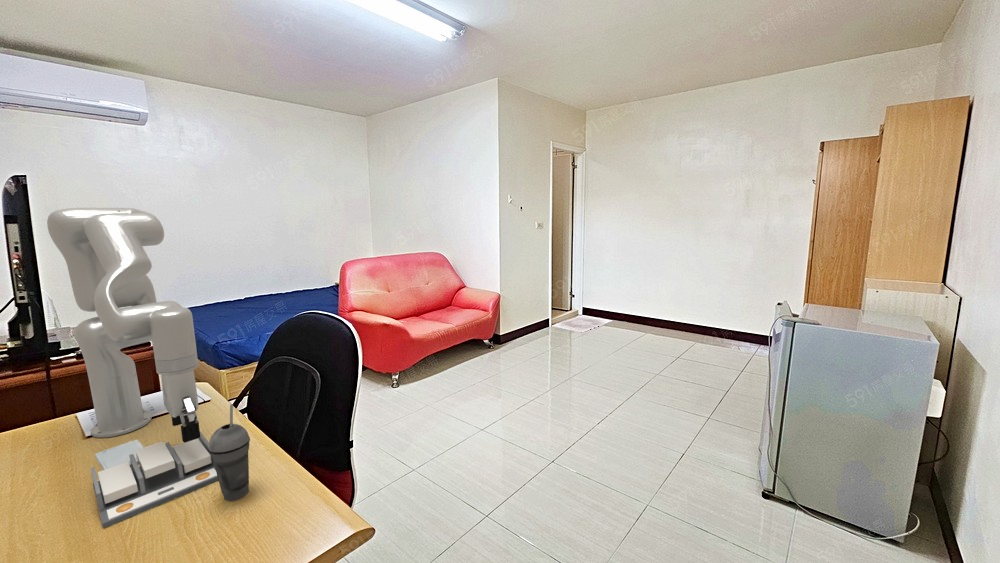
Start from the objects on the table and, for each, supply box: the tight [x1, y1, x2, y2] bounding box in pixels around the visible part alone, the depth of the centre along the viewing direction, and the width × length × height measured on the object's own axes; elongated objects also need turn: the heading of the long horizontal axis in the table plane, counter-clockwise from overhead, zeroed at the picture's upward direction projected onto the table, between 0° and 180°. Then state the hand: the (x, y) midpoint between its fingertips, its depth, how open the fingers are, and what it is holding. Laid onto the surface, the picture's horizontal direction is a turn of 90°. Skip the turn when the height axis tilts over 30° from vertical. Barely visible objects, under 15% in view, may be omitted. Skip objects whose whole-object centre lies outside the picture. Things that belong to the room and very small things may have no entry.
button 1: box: [97, 462, 138, 504], centre depth 88 cm, size 11×5×3 cm, turn 48°
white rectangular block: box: [135, 441, 175, 478], centre depth 93 cm, size 11×5×3 cm, turn 48°
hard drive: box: [94, 439, 145, 470], centre depth 101 cm, size 2×8×12 cm
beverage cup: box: [209, 403, 251, 502], centre depth 86 cm, size 7×7×20 cm
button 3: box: [172, 439, 212, 473], centre depth 98 cm, size 11×5×3 cm, turn 48°
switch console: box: [90, 431, 219, 529], centre depth 92 cm, size 18×20×5 cm
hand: (186, 431), depth 97 cm, fingers open, 9 cm apart
